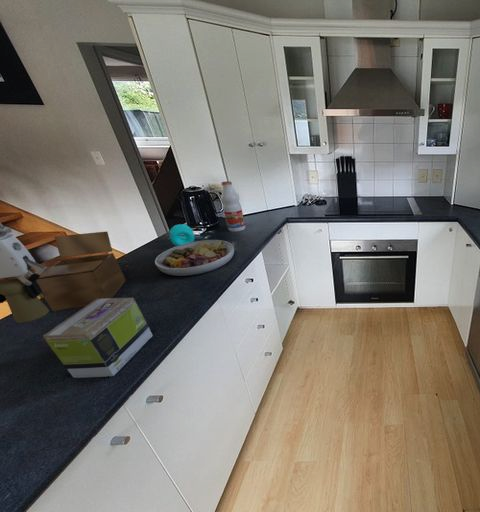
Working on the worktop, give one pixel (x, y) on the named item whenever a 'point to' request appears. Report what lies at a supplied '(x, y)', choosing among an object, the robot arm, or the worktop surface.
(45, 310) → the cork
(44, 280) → the carton
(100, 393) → the worktop surface
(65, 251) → the flap
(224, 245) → the bowl
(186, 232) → the cyan donut
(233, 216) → the fruit juice
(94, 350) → the tea box
